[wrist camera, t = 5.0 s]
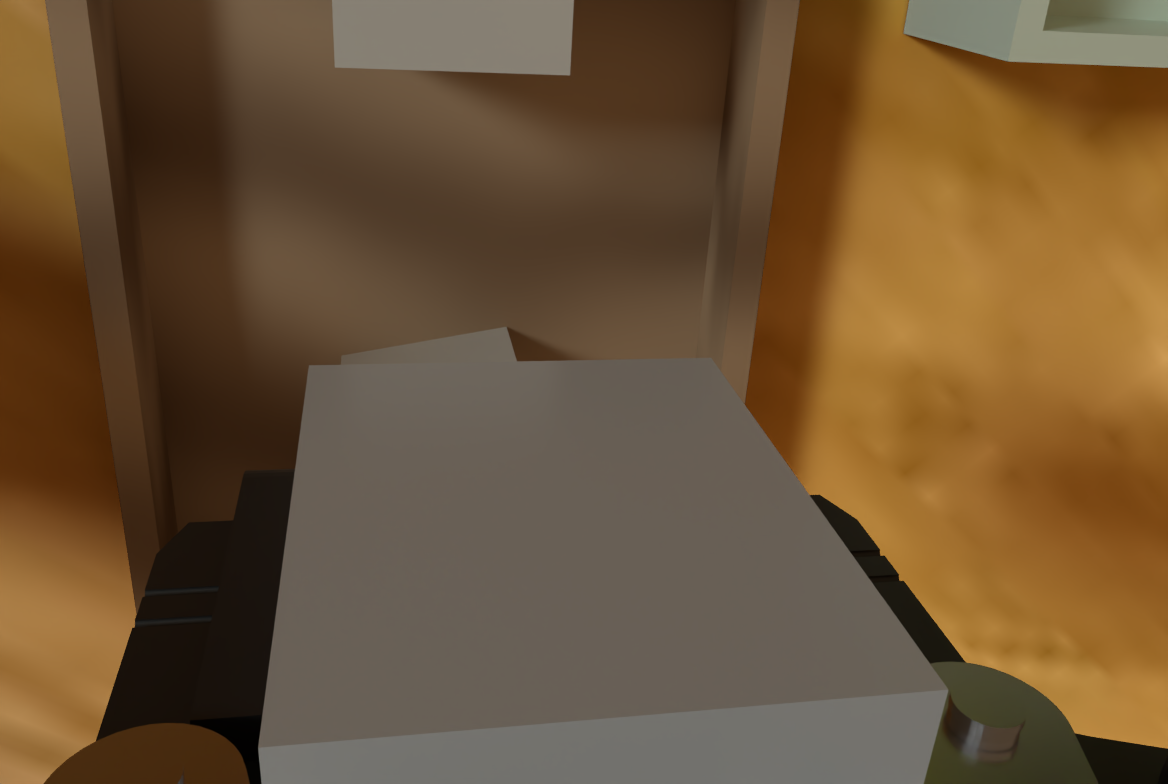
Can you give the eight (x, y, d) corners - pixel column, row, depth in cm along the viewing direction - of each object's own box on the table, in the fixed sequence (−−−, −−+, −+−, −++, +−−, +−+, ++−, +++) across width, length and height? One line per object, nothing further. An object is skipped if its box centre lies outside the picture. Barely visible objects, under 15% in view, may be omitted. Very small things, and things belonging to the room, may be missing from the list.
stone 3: (308, 364, 10) (258, 748, 6) (710, 357, 11) (949, 689, 6) (327, 693, 12) (300, 1185, 7) (674, 666, 12) (839, 1098, 8)
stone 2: (341, 355, 25) (334, 455, 21) (506, 326, 25) (534, 418, 21) (375, 496, 27) (375, 616, 22) (529, 467, 27) (558, 579, 23)
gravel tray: (36, -344, 19) (-12, -376, 17) (789, -270, 22) (839, -289, 19) (157, 556, 27) (137, 617, 25) (693, 530, 30) (720, 583, 27)
